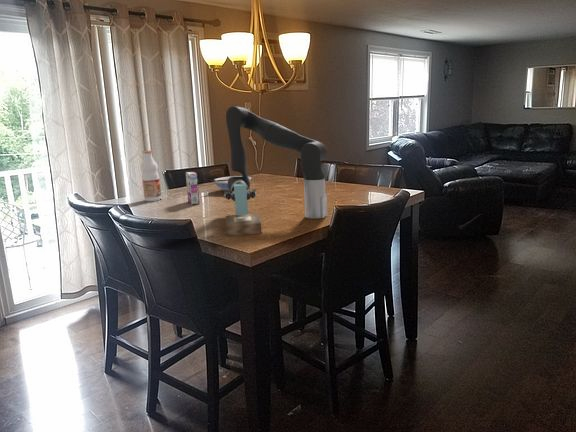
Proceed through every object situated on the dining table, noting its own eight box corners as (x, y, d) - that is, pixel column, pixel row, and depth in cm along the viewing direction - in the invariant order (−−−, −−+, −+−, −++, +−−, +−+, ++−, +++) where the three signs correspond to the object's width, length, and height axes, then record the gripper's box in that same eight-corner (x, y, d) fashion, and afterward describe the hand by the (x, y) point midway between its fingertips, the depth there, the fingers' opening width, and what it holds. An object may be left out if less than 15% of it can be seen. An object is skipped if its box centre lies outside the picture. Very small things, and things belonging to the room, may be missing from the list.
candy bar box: (200, 204, 238) (197, 173, 234) (191, 205, 236) (187, 174, 232) (196, 200, 248) (194, 171, 244) (187, 201, 246) (184, 172, 242)
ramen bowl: (255, 186, 282) (255, 174, 280) (251, 193, 260) (250, 180, 258) (216, 188, 283) (215, 175, 281) (209, 195, 261) (208, 181, 259)
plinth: (258, 221, 195) (257, 212, 194) (261, 233, 178) (261, 222, 177) (226, 224, 194) (225, 215, 193) (226, 235, 176) (225, 225, 175)
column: (247, 211, 187) (245, 183, 184) (248, 214, 182) (246, 185, 179) (235, 212, 186) (233, 184, 184) (235, 215, 182) (233, 186, 179)
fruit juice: (142, 200, 256) (136, 151, 250) (158, 197, 261) (153, 149, 255) (147, 202, 249) (141, 152, 242) (164, 199, 254) (158, 150, 247)
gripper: (222, 182, 195) (222, 190, 178) (255, 180, 196) (258, 187, 180) (224, 199, 196) (223, 208, 180) (256, 197, 198) (259, 205, 182)
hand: (241, 198), depth 180 cm, fingers closed on column, 5 cm apart
